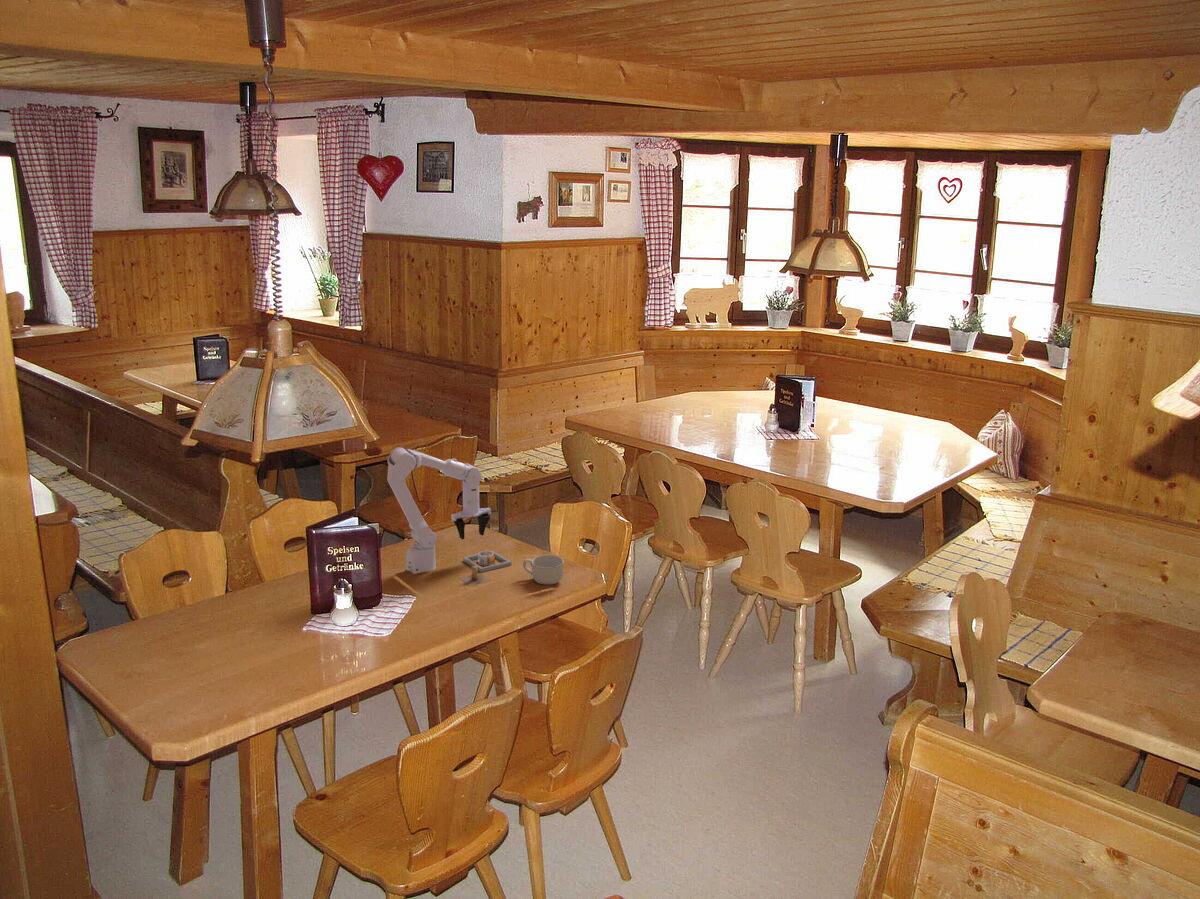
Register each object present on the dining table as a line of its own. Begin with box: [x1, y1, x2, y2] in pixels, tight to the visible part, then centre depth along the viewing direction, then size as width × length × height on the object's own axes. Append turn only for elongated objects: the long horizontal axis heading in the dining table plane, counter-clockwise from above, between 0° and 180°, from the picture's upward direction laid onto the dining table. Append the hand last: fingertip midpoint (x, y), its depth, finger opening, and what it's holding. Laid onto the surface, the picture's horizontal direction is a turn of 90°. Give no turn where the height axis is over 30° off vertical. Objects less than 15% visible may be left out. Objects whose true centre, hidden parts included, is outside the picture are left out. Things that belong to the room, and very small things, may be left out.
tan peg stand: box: [458, 566, 492, 587], centre depth 330 cm, size 8×8×5 cm
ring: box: [477, 550, 496, 566], centre depth 345 cm, size 6×7×4 cm
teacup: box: [522, 554, 565, 586], centre depth 330 cm, size 14×11×8 cm
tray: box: [462, 550, 513, 573], centre depth 345 cm, size 12×13×2 cm
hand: (471, 536), depth 346 cm, fingers open, 7 cm apart
